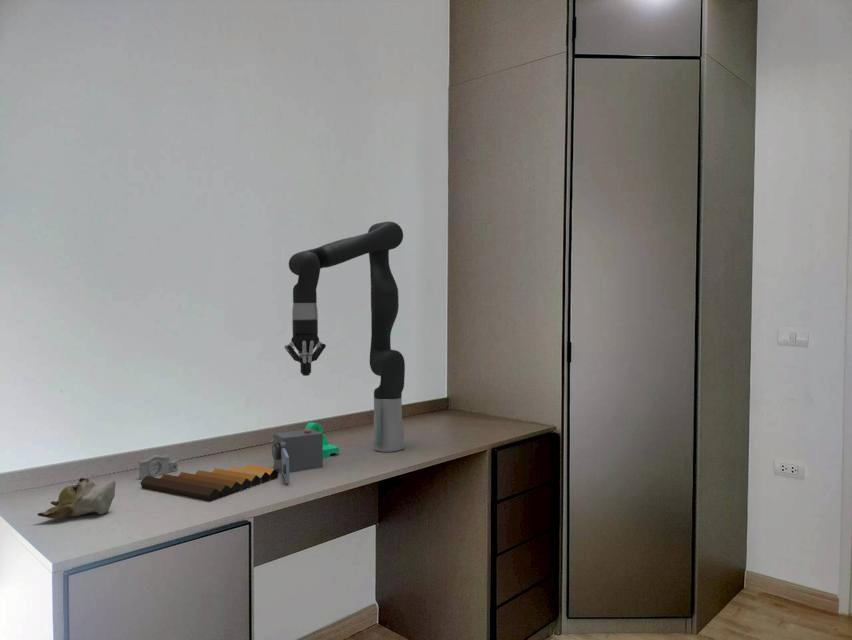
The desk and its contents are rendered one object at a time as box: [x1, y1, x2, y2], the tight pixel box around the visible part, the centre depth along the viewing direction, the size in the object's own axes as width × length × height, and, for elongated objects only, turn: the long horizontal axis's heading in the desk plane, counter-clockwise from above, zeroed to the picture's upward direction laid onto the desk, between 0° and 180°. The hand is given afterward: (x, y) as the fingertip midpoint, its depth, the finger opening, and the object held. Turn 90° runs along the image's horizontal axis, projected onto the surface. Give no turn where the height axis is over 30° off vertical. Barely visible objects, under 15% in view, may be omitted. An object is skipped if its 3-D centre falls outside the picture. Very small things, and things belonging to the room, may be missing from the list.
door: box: [280, 447, 290, 484], centre depth 174 cm, size 12×2×7 cm, turn 18°
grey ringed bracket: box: [137, 453, 179, 480], centre depth 179 cm, size 12×2×6 cm, turn 149°
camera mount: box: [303, 422, 340, 459], centre depth 202 cm, size 12×8×10 cm, turn 131°
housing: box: [271, 428, 324, 473], centre depth 186 cm, size 13×10×11 cm
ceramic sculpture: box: [36, 477, 116, 520], centre depth 145 cm, size 11×9×15 cm
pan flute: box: [139, 464, 279, 502], centre depth 171 cm, size 25×3×25 cm
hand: (305, 375), depth 192 cm, fingers closed
